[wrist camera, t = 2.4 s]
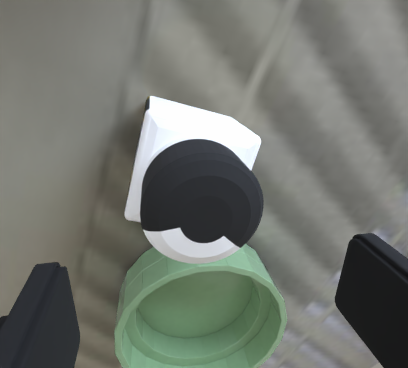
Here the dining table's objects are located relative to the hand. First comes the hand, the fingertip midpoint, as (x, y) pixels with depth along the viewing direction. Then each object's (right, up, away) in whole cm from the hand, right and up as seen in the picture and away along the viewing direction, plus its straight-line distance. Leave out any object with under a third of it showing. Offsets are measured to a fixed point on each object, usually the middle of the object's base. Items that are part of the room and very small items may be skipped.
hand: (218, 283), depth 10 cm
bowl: (-1, -8, +21) cm, 22 cm away
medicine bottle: (-2, +6, +15) cm, 16 cm away
